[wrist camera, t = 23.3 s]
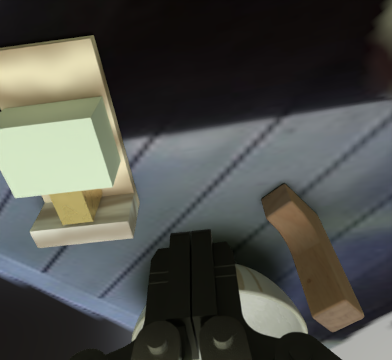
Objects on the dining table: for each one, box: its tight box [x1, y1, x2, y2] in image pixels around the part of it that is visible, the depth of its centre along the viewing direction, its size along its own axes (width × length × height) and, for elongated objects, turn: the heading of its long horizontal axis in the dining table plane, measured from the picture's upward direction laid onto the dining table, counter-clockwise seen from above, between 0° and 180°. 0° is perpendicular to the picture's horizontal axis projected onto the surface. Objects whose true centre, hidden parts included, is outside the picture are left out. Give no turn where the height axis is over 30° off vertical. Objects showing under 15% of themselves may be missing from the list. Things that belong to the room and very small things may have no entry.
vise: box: [0, 35, 140, 248], centre depth 43 cm, size 24×13×8 cm, turn 7°
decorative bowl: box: [132, 264, 308, 360], centre depth 58 cm, size 27×27×12 cm
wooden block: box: [261, 184, 364, 332], centre depth 46 cm, size 9×4×18 cm, turn 44°
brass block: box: [49, 189, 103, 225], centre depth 46 cm, size 5×4×6 cm
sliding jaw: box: [0, 96, 121, 198], centre depth 42 cm, size 9×12×6 cm
